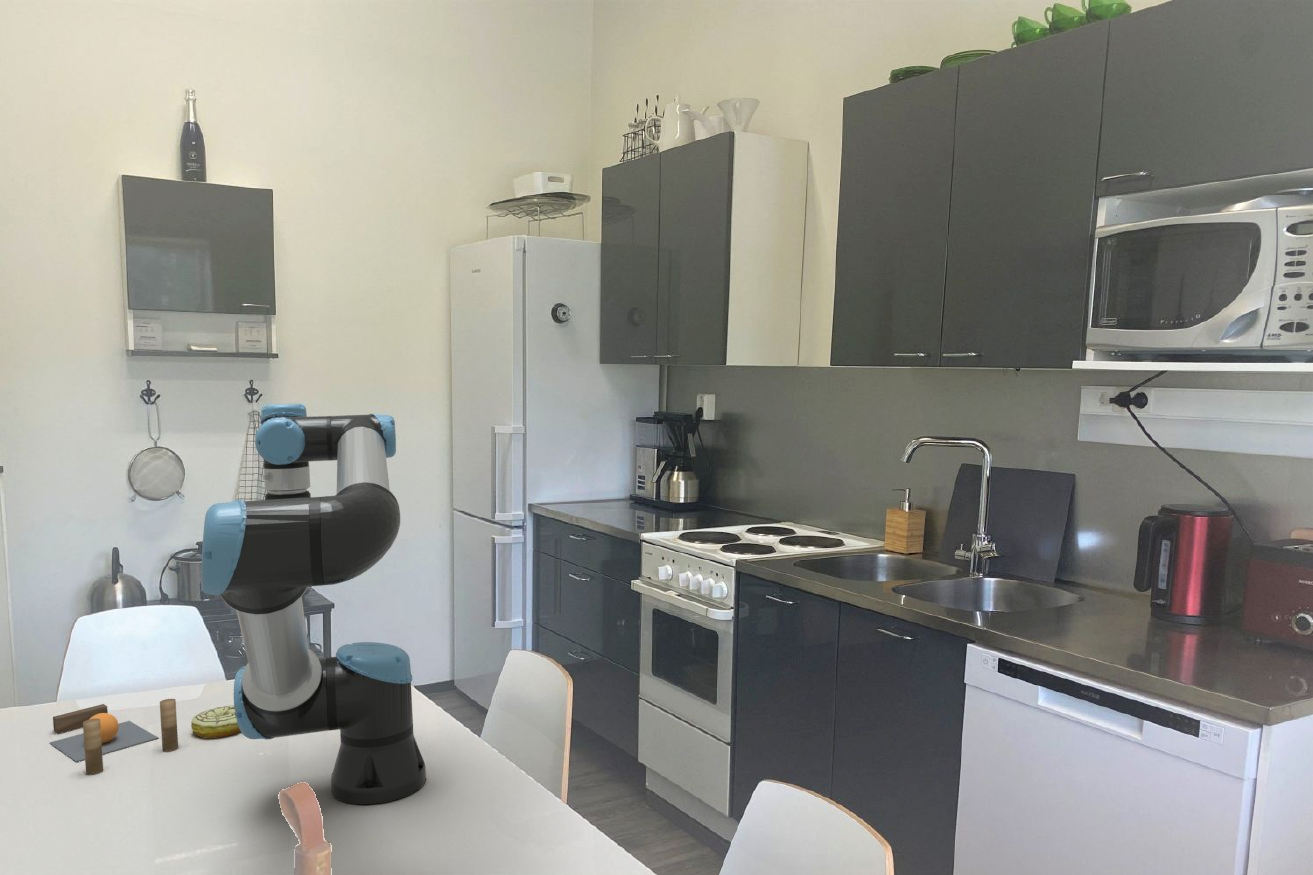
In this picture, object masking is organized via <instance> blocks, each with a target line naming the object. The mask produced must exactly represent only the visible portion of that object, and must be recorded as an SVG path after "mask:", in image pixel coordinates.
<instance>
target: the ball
mask: <svg viewBox="0 0 1313 875" xmlns="http://www.w3.org/2000/svg"><path fill="white" fill-rule="evenodd" d="M90 719H100V725H101V741H102V744H104V743H107V742H109V741H110V740H112V739H113V738H114V737H115V735H116V734H117V732H118V728H119V725H118V724H119V721H118V719H117V718H116V717H115V716H114V715H113V714H111V713H109V712H108V713H99V714H96V715H94V716H93V717H91V718H90Z"/></svg>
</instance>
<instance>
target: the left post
mask: <svg viewBox="0 0 1313 875" xmlns="http://www.w3.org/2000/svg"><path fill="white" fill-rule="evenodd" d="M82 729H83V731H82V732H83V734H84V749H85V760H84V762H85V764H84V766H85V774H86V775H88V776H89V775H91V776H92V775H97V774H101V773H103V771H104V761H103V759H104V758H103V757H104V756H103V755H102V741H101V725H100V719H89V720H86V721H84V722H83V728H82Z"/></svg>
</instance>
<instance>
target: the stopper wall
mask: <svg viewBox="0 0 1313 875" xmlns="http://www.w3.org/2000/svg"><path fill="white" fill-rule="evenodd" d="M99 713H108V714H109V712H108V705H107V704H104V703H102V704H98V705H94V706H91V707H86V708H82V709H79V710H75V711H72V712H71V711H70V712H67V713H64V714H60V715H59V714H58V715H55V716H52V724H53V725H52V726H53V732H54V733H55V734H56V735H59V734H60V735H61V734H64V733H68V732H71V731H75V730H78V729H83V722H84V721H86V720H89V719H90V718H91V717H93V716H94V715H96V714H99ZM67 731H68V732H67Z"/></svg>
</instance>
